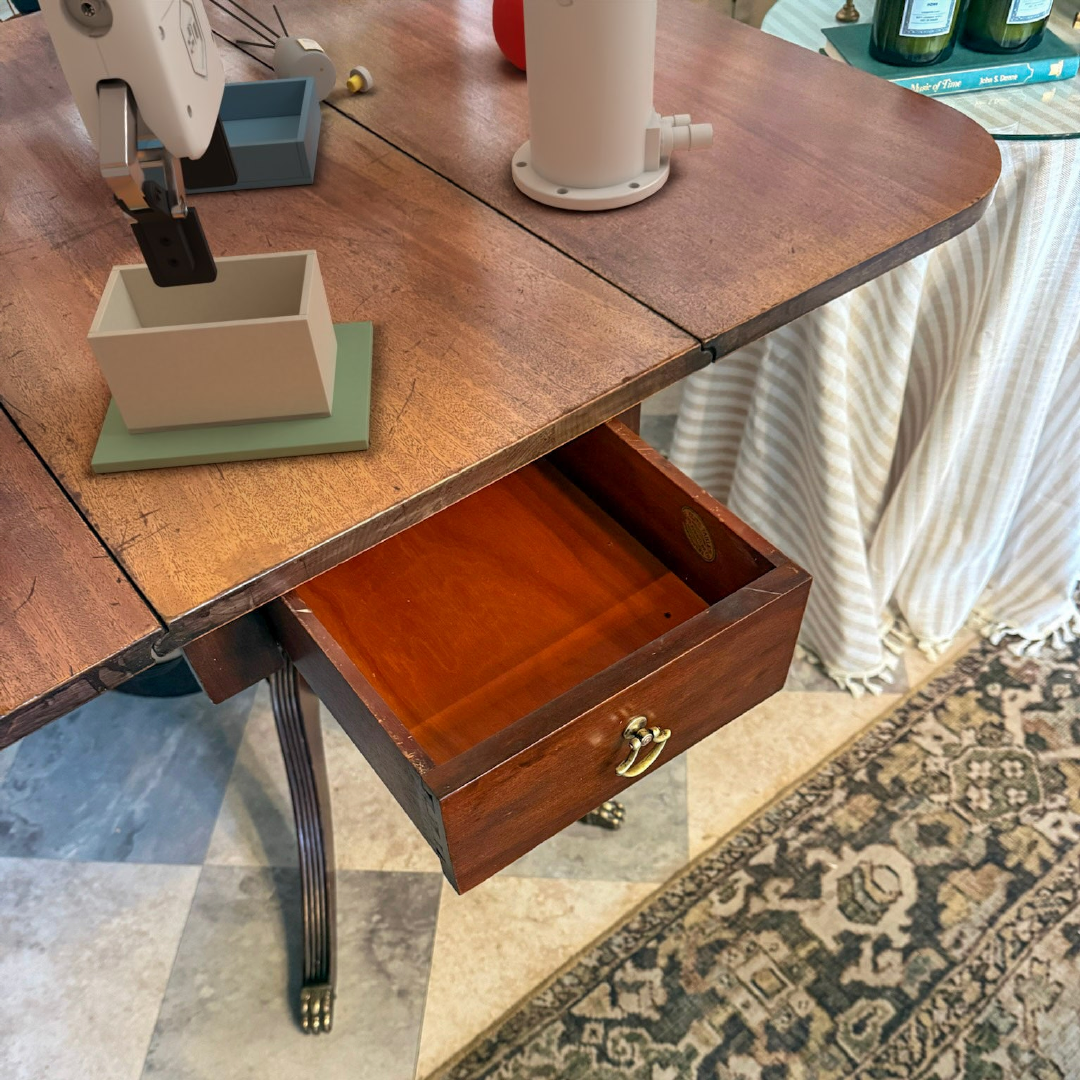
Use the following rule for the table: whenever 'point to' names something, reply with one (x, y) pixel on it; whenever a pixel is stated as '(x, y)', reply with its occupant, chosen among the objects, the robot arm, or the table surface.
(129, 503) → the table surface
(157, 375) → the cream bin
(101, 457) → the mat
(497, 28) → the fruit
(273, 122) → the blue tote
